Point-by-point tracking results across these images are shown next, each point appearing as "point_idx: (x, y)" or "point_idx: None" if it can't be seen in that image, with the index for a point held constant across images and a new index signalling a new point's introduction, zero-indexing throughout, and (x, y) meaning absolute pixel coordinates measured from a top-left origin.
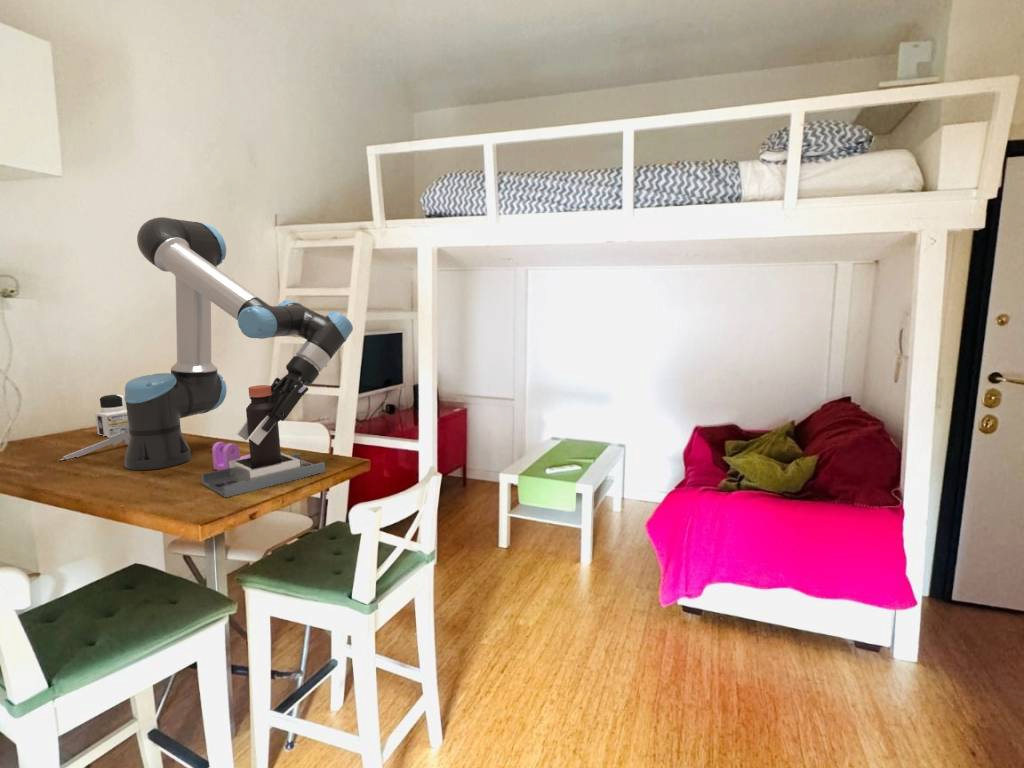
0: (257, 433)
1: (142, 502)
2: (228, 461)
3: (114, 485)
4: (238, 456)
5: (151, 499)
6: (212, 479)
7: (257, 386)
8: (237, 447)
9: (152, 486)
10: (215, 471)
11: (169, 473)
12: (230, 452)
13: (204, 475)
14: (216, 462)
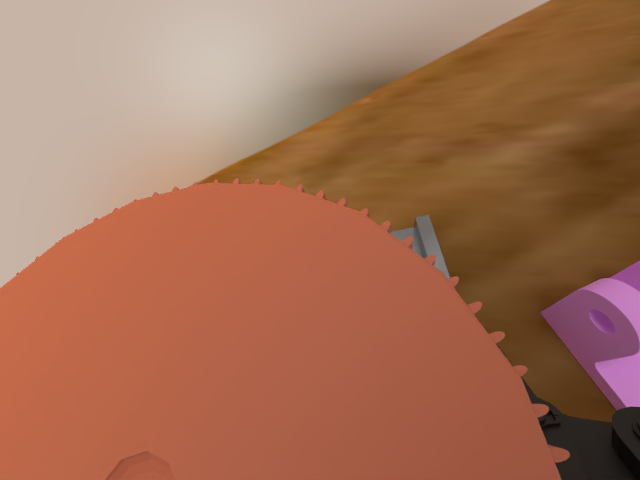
0: None
1: (359, 126)
2: (560, 307)
3: (543, 70)
4: (604, 352)
5: (369, 138)
6: (415, 248)
7: (263, 456)
8: (631, 344)
9: (482, 134)
10: (435, 251)
11: (616, 162)
12: (590, 310)
13: (415, 222)
14: (613, 276)
